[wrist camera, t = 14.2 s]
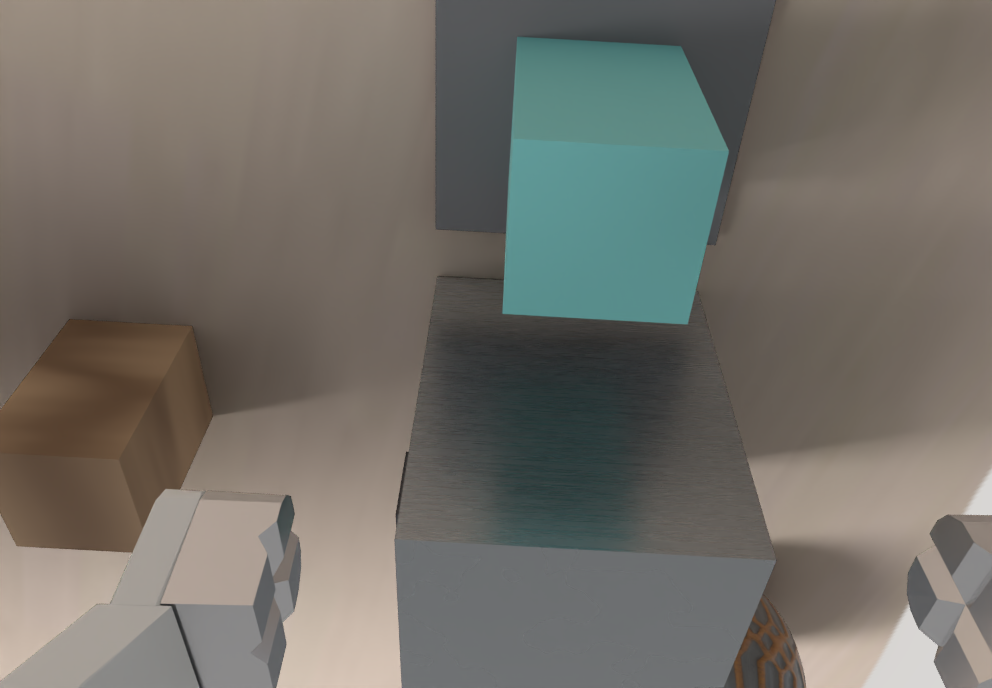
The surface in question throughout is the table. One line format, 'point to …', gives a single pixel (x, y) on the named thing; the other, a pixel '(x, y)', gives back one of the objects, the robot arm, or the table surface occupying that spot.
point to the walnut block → (100, 434)
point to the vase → (767, 654)
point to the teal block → (608, 182)
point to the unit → (573, 504)
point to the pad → (572, 16)
